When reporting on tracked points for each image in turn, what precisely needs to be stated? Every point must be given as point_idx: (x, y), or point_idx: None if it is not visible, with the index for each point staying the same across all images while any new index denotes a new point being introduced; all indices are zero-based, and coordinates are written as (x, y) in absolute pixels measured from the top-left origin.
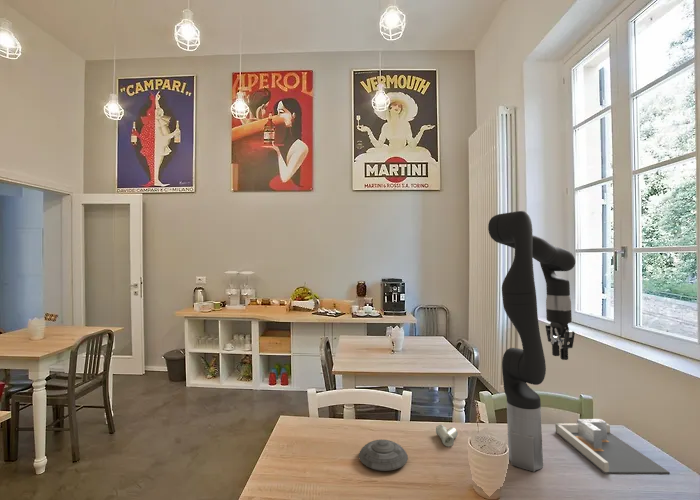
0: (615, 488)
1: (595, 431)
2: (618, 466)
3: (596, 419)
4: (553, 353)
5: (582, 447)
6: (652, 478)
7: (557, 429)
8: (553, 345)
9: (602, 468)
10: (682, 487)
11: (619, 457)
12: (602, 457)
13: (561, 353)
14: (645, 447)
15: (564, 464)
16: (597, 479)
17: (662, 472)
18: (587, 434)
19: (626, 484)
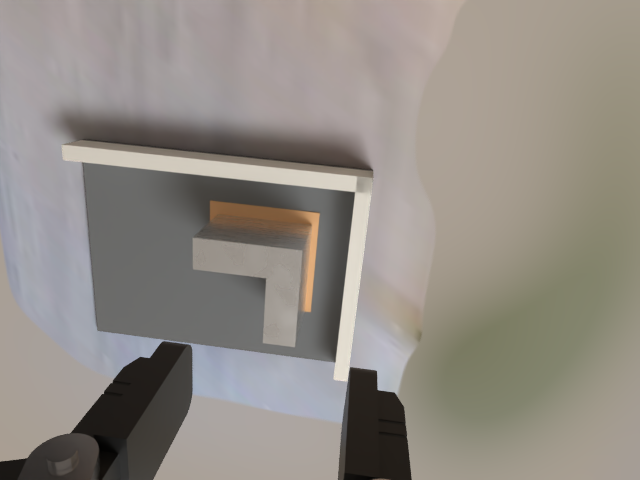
0: (7, 110)
1: (194, 244)
2: (116, 211)
3: (290, 325)
4: (350, 382)
5: (184, 156)
6: (72, 262)
7: (358, 172)
8: (342, 477)
9: (86, 141)
10: (38, 302)
11: (170, 259)
12: (169, 203)
13: (131, 385)
14: (240, 389)
15: (130, 31)
16: (48, 88)
17: (96, 312)
18: (243, 230)
19: (32, 161)
